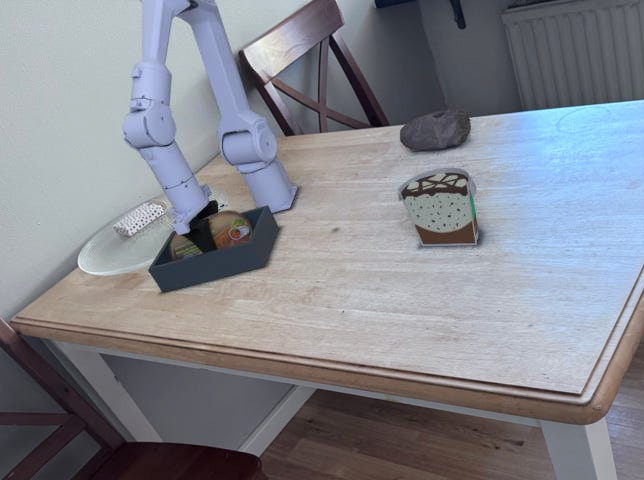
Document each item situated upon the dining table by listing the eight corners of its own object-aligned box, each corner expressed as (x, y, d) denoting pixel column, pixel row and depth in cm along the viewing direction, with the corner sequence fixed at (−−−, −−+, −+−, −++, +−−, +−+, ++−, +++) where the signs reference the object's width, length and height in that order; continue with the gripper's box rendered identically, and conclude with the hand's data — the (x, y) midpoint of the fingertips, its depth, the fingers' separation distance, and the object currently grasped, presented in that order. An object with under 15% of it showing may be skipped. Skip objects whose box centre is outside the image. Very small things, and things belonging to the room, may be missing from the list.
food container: (499, 222, 98) (485, 162, 92) (486, 244, 94) (470, 183, 88) (429, 224, 104) (411, 168, 98) (413, 246, 100) (394, 189, 94)
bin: (185, 253, 125) (172, 231, 122) (279, 228, 121) (268, 204, 117) (162, 292, 114) (147, 270, 111) (264, 266, 110) (251, 242, 107)
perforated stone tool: (399, 157, 129) (388, 124, 125) (409, 145, 132) (399, 113, 128) (467, 150, 122) (458, 115, 118) (476, 137, 125) (468, 103, 121)
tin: (184, 279, 116) (159, 240, 111) (185, 271, 118) (161, 232, 113) (261, 248, 116) (240, 208, 111) (261, 241, 118) (240, 201, 113)
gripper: (170, 168, 114) (207, 234, 122) (141, 206, 103) (184, 275, 111) (205, 158, 112) (240, 225, 121) (180, 195, 101) (220, 266, 110)
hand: (216, 248), depth 116 cm, fingers closed on tin, 4 cm apart
